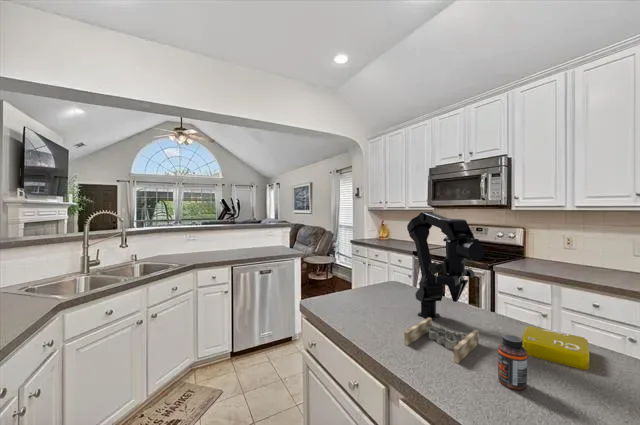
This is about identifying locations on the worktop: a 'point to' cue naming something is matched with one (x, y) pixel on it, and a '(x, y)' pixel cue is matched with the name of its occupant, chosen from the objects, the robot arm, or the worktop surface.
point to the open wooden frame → (465, 344)
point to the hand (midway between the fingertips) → (455, 301)
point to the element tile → (556, 347)
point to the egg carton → (445, 336)
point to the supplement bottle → (512, 363)
